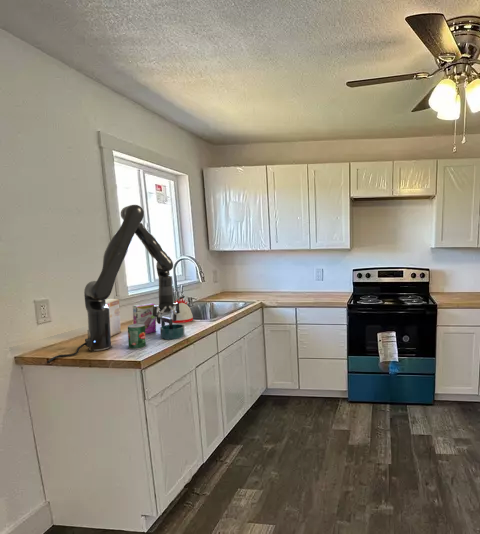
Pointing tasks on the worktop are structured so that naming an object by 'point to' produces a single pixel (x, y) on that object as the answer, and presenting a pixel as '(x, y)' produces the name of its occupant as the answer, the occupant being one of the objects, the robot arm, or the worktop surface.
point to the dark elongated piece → (167, 320)
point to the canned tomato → (136, 336)
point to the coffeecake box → (114, 315)
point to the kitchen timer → (183, 312)
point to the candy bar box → (145, 317)
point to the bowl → (172, 331)
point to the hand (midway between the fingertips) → (166, 322)
